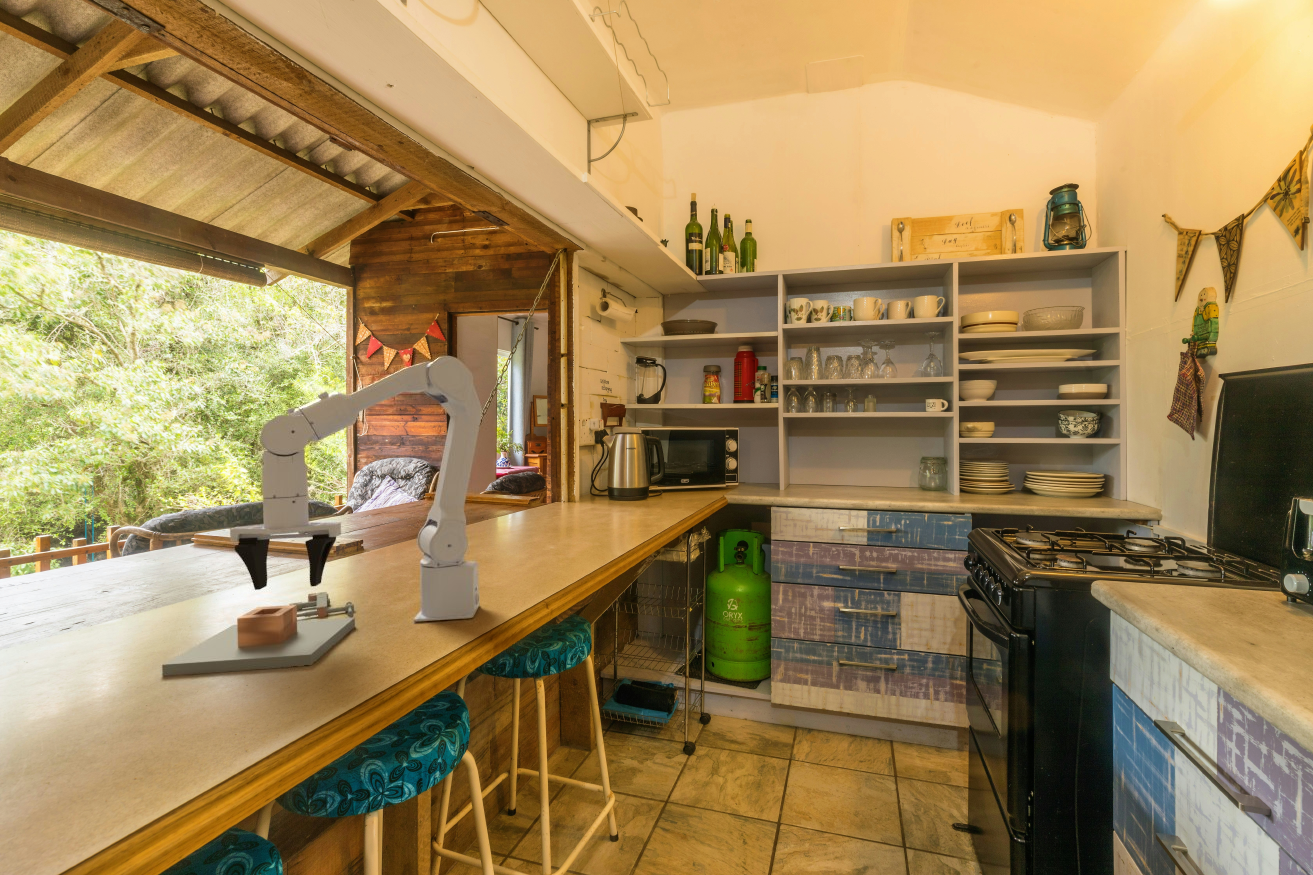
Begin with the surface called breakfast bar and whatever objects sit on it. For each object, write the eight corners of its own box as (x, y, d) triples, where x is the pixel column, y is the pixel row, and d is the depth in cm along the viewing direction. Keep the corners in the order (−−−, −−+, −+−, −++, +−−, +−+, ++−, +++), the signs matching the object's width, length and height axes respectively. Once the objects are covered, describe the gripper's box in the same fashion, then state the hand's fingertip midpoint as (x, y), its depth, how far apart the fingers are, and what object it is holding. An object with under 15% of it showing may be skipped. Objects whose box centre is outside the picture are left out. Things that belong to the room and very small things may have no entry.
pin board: (354, 626, 93) (354, 598, 93) (311, 665, 78) (310, 632, 78) (233, 634, 91) (232, 605, 91) (162, 676, 75) (161, 641, 75)
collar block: (297, 631, 87) (296, 604, 87) (279, 643, 82) (278, 615, 82) (258, 633, 86) (257, 607, 86) (237, 646, 81) (237, 618, 81)
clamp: (290, 595, 106) (351, 587, 111) (290, 607, 106) (351, 598, 111) (285, 617, 93) (354, 607, 98) (285, 630, 93) (355, 620, 98)
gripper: (216, 501, 81) (219, 596, 82) (326, 497, 84) (329, 590, 84) (244, 496, 88) (246, 584, 88) (345, 492, 91) (347, 578, 91)
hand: (288, 586), depth 87 cm, fingers open, 7 cm apart
